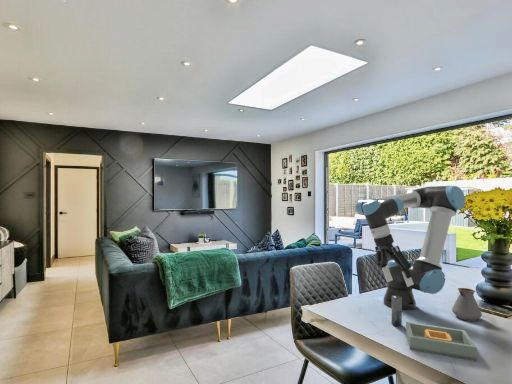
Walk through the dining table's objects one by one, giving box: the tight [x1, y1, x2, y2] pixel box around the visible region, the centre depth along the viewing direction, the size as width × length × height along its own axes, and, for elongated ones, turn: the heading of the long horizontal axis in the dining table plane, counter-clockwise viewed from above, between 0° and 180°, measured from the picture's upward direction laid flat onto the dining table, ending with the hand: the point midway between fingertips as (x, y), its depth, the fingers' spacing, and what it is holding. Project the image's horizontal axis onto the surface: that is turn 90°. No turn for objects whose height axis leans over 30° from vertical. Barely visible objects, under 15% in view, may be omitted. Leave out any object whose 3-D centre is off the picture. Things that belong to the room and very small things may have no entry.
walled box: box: [405, 321, 478, 362], centre depth 113 cm, size 15×20×4 cm
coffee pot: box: [451, 287, 483, 322], centre depth 139 cm, size 21×12×15 cm, turn 138°
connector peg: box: [391, 295, 403, 328], centre depth 132 cm, size 4×4×12 cm
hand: (399, 283), depth 131 cm, fingers open, 13 cm apart
